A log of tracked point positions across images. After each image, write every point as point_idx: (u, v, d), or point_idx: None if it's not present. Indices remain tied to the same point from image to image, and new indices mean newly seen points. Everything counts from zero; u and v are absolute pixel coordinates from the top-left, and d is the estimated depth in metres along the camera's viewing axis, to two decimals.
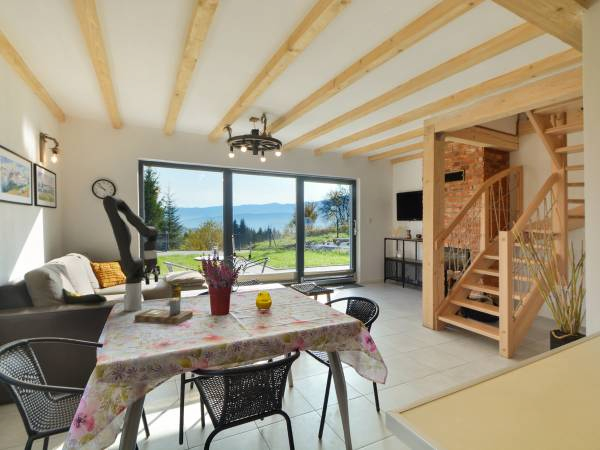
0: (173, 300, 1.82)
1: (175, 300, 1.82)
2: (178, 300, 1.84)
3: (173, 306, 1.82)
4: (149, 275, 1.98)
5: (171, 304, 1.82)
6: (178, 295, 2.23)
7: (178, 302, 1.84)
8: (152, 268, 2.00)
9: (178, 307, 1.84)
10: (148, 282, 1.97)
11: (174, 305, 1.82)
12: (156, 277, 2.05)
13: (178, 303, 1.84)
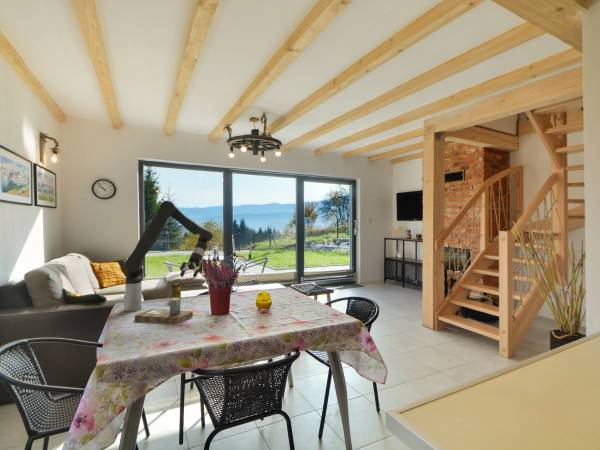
0: (173, 300, 1.82)
1: (175, 300, 1.82)
2: (178, 300, 1.84)
3: (173, 306, 1.82)
4: None
5: (171, 304, 1.82)
6: (178, 295, 2.23)
7: (178, 302, 1.84)
8: None
9: (178, 307, 1.84)
10: None
11: (174, 305, 1.82)
12: (184, 272, 2.00)
13: (178, 303, 1.84)
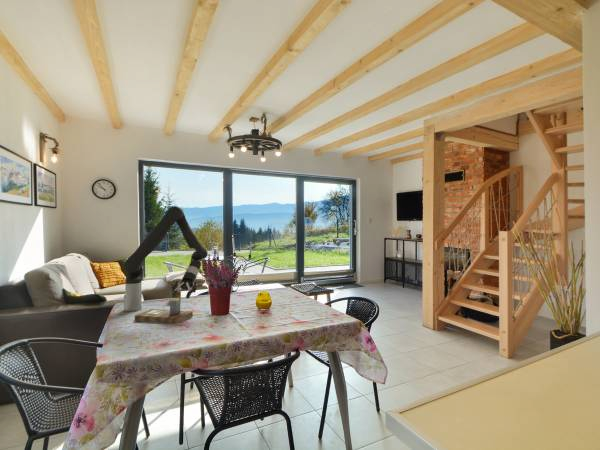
0: (173, 300, 1.82)
1: (175, 300, 1.82)
2: (178, 300, 1.84)
3: (173, 306, 1.82)
4: None
5: (171, 304, 1.82)
6: (178, 295, 2.23)
7: (178, 302, 1.84)
8: None
9: (178, 307, 1.84)
10: None
11: (174, 305, 1.82)
12: (176, 293, 1.92)
13: (178, 303, 1.84)
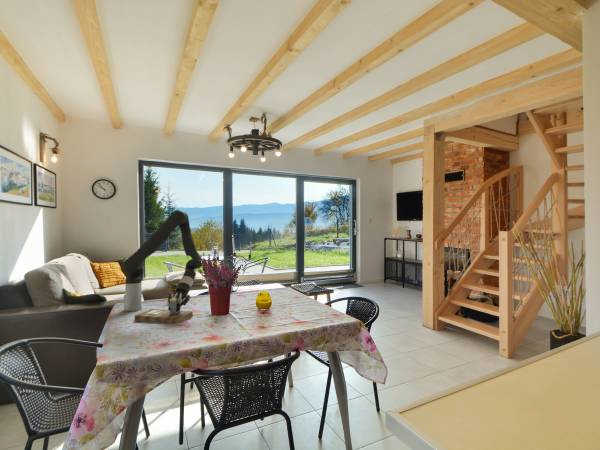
0: (173, 300, 1.82)
1: (175, 300, 1.82)
2: (178, 300, 1.84)
3: (173, 306, 1.82)
4: None
5: (171, 304, 1.82)
6: None
7: (178, 302, 1.84)
8: None
9: None
10: None
11: (174, 305, 1.82)
12: None
13: (178, 303, 1.84)
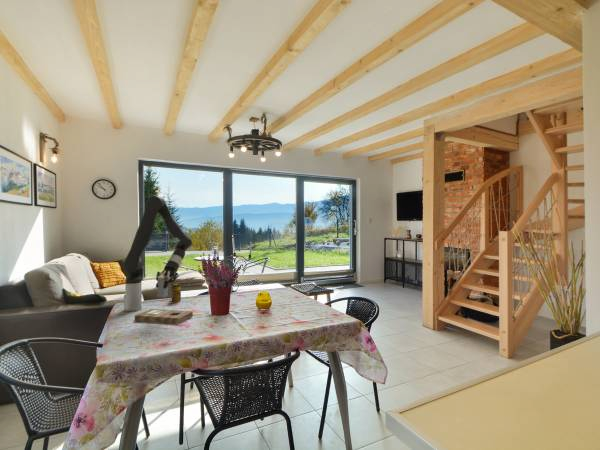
0: (161, 277, 1.83)
1: (163, 277, 1.83)
2: (166, 277, 1.85)
3: (161, 283, 1.83)
4: None
5: (159, 281, 1.83)
6: (178, 295, 2.23)
7: (166, 279, 1.85)
8: None
9: None
10: None
11: (162, 282, 1.83)
12: None
13: (166, 280, 1.85)
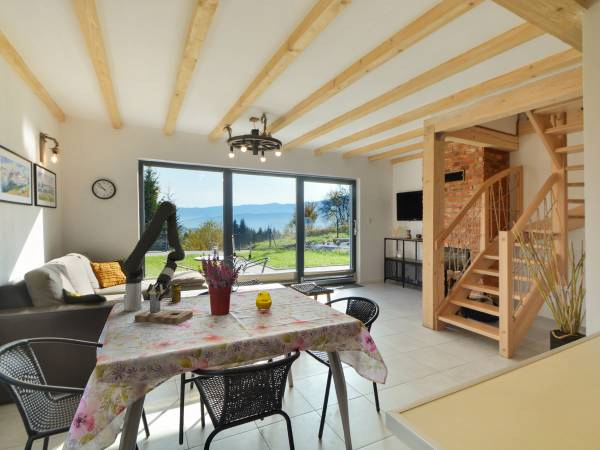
0: (153, 293, 1.84)
1: (155, 293, 1.84)
2: (158, 293, 1.86)
3: (153, 299, 1.84)
4: None
5: (151, 297, 1.85)
6: (178, 295, 2.23)
7: (158, 295, 1.86)
8: None
9: None
10: None
11: (154, 298, 1.84)
12: None
13: (158, 296, 1.86)
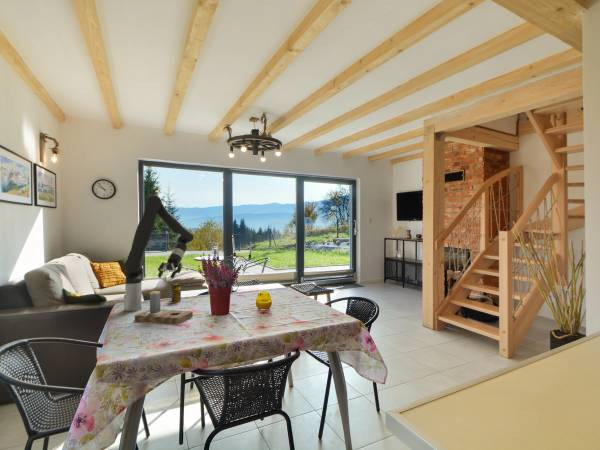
0: (153, 293, 1.84)
1: (155, 293, 1.84)
2: (158, 293, 1.86)
3: (153, 299, 1.84)
4: None
5: (151, 297, 1.85)
6: (178, 295, 2.23)
7: (158, 295, 1.86)
8: None
9: (158, 300, 1.86)
10: None
11: (154, 298, 1.84)
12: (162, 273, 1.99)
13: (158, 296, 1.86)
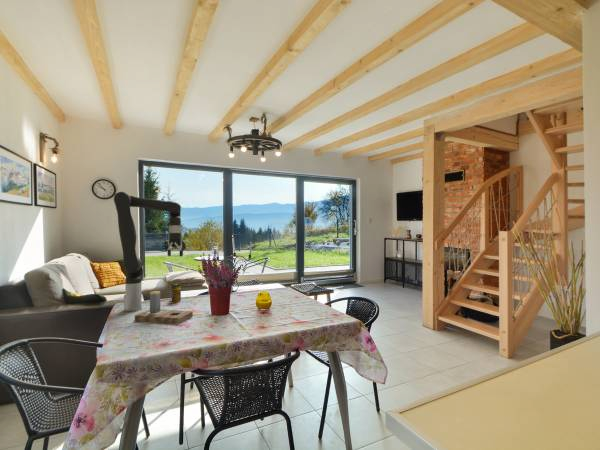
0: (153, 293, 1.84)
1: (155, 293, 1.84)
2: (158, 293, 1.86)
3: (153, 299, 1.84)
4: (181, 247, 2.15)
5: (151, 297, 1.85)
6: (178, 295, 2.23)
7: (158, 295, 1.86)
8: None
9: (158, 300, 1.86)
10: None
11: (154, 298, 1.84)
12: (170, 251, 2.16)
13: (158, 296, 1.86)
